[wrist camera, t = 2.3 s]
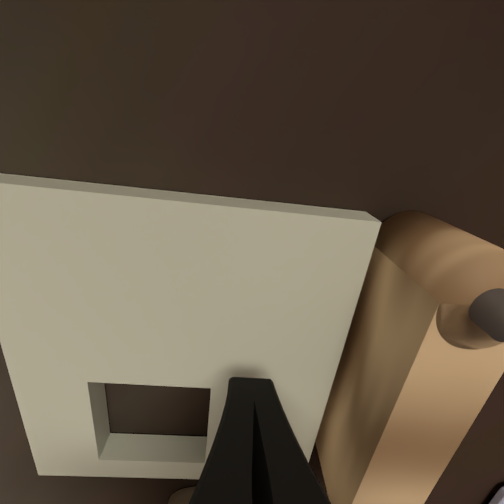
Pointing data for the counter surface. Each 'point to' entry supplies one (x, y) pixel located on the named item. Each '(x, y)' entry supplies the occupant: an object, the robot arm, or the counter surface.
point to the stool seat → (167, 311)
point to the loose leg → (181, 496)
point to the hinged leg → (413, 362)
